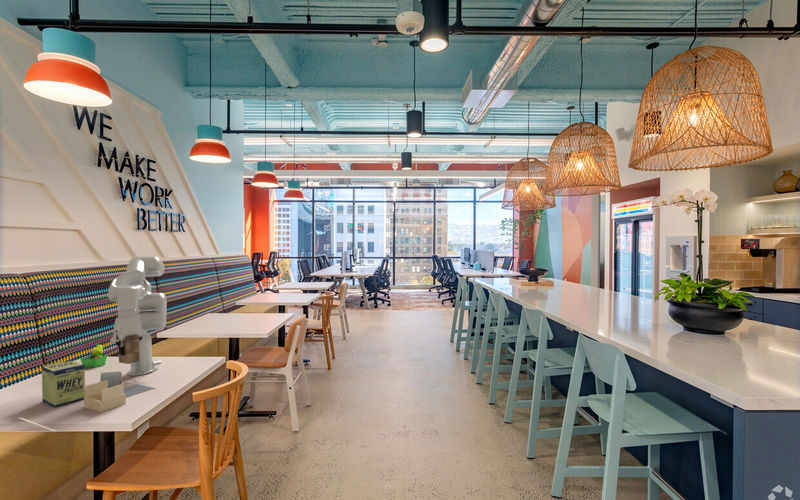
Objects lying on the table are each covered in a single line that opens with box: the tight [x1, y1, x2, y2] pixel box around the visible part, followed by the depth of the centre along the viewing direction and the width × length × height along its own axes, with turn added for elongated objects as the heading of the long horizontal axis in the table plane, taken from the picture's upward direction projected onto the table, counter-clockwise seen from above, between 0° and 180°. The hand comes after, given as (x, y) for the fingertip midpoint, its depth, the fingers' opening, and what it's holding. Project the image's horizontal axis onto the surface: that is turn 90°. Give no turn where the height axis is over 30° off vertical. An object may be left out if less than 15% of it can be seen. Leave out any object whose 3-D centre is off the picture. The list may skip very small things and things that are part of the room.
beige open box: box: [83, 380, 127, 413], centre depth 161 cm, size 9×12×9 cm
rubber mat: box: [124, 383, 156, 399], centre depth 177 cm, size 14×14×1 cm
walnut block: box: [117, 335, 140, 365], centre depth 177 cm, size 5×7×12 cm
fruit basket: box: [79, 344, 108, 368], centre depth 222 cm, size 11×9×11 cm
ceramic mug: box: [99, 371, 123, 388], centre depth 185 cm, size 11×8×8 cm
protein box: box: [41, 360, 86, 408], centre depth 168 cm, size 10×16×16 cm
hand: (129, 353), depth 177 cm, fingers closed on walnut block, 5 cm apart
